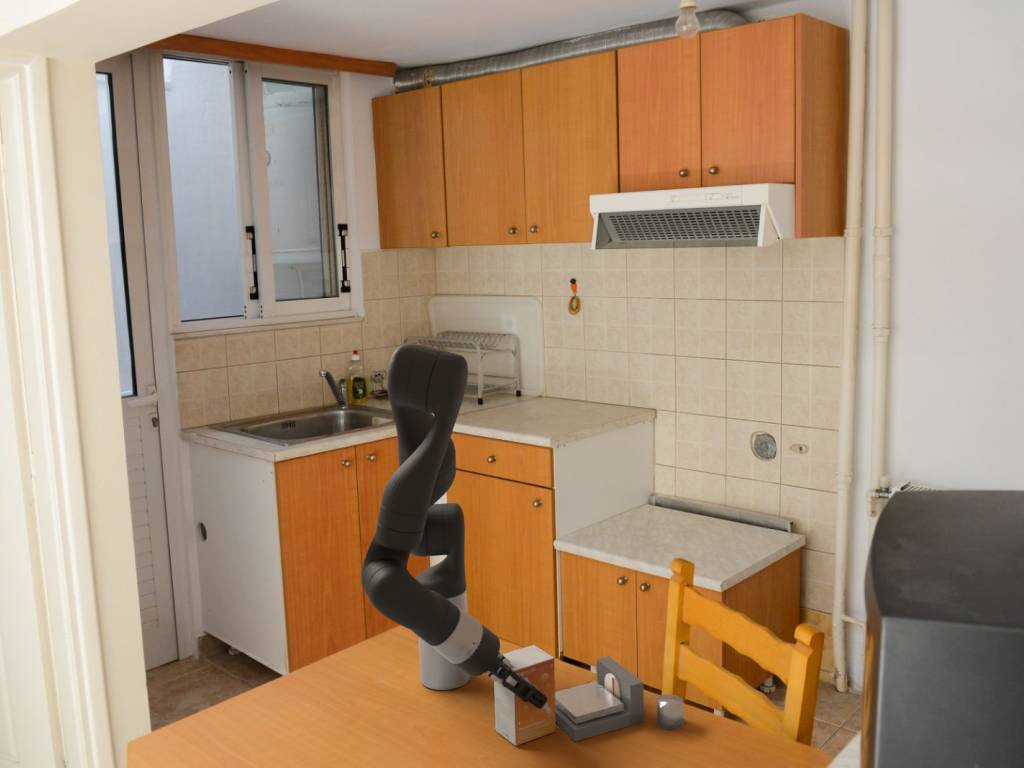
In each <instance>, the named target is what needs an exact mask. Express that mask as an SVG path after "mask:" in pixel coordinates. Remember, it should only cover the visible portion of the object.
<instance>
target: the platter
mask: <svg viewBox="0 0 1024 768" xmlns="http://www.w3.org/2000/svg"><path fill="white" fill-rule="evenodd" d="M555 705H556V706H557V707H558V708H559V709H560V710H562V711H563V712H564V713H565V714H566V715H567V716H568V717H569V718H570V719H571V720H572V721H573V722H574V723H575V724H577V723H581V722H584V721H588V720H592V719H595V718H599V717H602V716H606V715H609V714H613V713H616V712H620V711H623V710H624V703H622V702H621V701H620V700H619V699H617V698H616V697H615V696H614V695H613V694H611V693H610V692H609V691H608V690H606V689H605V688H604V687H603V686H602V685H600V684H599V683H598V682H597V680H595V681H591V682H587V683H584V684H580V685H576V686H572V687H569V688H565V689H562V690H558V691H555Z"/></svg>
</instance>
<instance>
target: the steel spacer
mask: <svg viewBox="0 0 1024 768" xmlns="http://www.w3.org/2000/svg"><path fill="white" fill-rule="evenodd" d="M684 708H685V705H684V699H683V698H682V697H680V696H678V695H675V694H661V695H659V696H658V697H657V698H656V725H657V726H658V728H660V729H661V730H665V731H678V730H680V729H682V728H683V727H684V726H685V723H684V722H685V719H684V717H685V716H684V715H685V712H684V711H685V709H684Z"/></svg>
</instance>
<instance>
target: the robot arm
mask: <svg viewBox="0 0 1024 768" xmlns="http://www.w3.org/2000/svg"><path fill="white" fill-rule="evenodd" d="M468 375H469V367H468V362H467V359H466V358H465V357H464V356H463V355H461V354H458V353H455V352H450V351H447V350H442V349H437V348H432V347H429V346H425V345H421V344H418V343H417V344H415V343H405V344H402V345H399V346H398V347H397V348H396V349H395V350H394V351H393V353H392V355H391V357H390V360H389V363H388V369H387V378H386V380H387V381H386V382H387V393H388V399H389V403H390V408H391V411H392V415H393V420H394V423H395V429H396V435H397V449H398V451H397V452H398V466H399V467H398V468H397V469H396V471H394V473H393V474H392V475H391V477H389V480H388V481H387V483H386V486H385V487H384V490H383V494H382V497H381V501H380V508H379V512H378V515H377V516H378V518H377V521H376V527H375V532H374V534H373V537H372V538H371V541H370V543H369V546H368V549H367V550H366V551H367V552H366V554H365V556H364V560H363V563H362V567H361V568H362V569H361V574H360V576H361V577H360V579H361V581H360V582H361V586H362V589H363V590H364V592H365V594H366V596H367V597H368V599H369V601H370V603H371V604H372V606H373V608H375V609H376V610H377V611H378V612H379V613H381V615H383V616H384V617H386V618H387V619H389V620H390V621H392V622H394V623H396V624H398V625H399V626H401V627H404V628H405V629H409V630H411V632H412V633H414V634H415V635H416V636H417V637H418V639H417V640H418V656H419V673H420V674H419V675H420V683H421V684H422V686H424V687H426V688H428V689H432V690H437V691H448V690H453V689H457V688H460V687H463V686H465V685H466V684H468V682H470V680H471V677H473V678H474V677H475V678H476V677H480V676H482V675H483V674H487V677H489V678H490V679H491V680H492V681H493V682H494V681H495V682H498V683H500V684H501V685H502V686H503V687H504V688H506V689H507V690H508V691H510V692H513V693H515V694H516V695H517V696H519V697H520V698H521V699H522V700H523V701H524V702H528V701H529V702H530V703H532V704H533V705H534V706H536V707H537V708H538V709H541V708H542V707H543V706H544V704H545V703H546V702H547V697H546V696H545V695H544V694H542V693H541V692H540V691H538V690H537V689H536V688H535V687H534V686H533V684H532V683H529V682H528V681H526V680H525V679H524V678H523V674H521V676H518V675H517V674H516V673H515V672H514V671H512V670H511V669H510V668H515V667H514V666H513V665H512V664H511V662H510V660H508V659H507V658H506V657H505V656H504V655H503V654H504V653H502V652H501V651H500V650H501V642H500V639H499V638H500V637H498V635H497V634H495V633H494V631H492V630H490V629H489V628H488V627H486V626H485V625H484V624H483V623H481V622H480V621H479V620H477V618H475V617H473V616H472V615H471V614H470V613H468V597H467V579H466V565H465V564H466V563H465V553H466V552H465V551H466V550H465V549H466V548H465V547H466V546H465V542H466V540H465V539H466V538H465V536H466V530H465V529H466V526H465V525H466V524H465V523H466V522H465V515H464V511H463V509H462V506H461V505H460V504H458V503H455V502H447V503H437V502H438V501H439V500H441V498H442V497H443V496H444V495H445V494H446V493H447V492H448V491H449V489H450V488H451V486H452V485H453V483H454V481H455V478H456V476H457V475H456V474H457V459H456V458H457V454H456V452H457V451H456V447H455V443H454V441H453V438H452V434H453V431H454V428H455V424H456V422H457V419H458V417H459V412H460V409H461V407H462V403H463V399H464V396H465V393H466V389H467V384H468V377H469V376H468ZM411 555H412V556H415V557H438V556H446V557H444V559H443V560H441V561H440V562H438V563H437V564H435V565H433V566H430V567H428V568H426V569H424V570H422V571H421V572H419V573H418V574H417V575H416V576H415V577H414V576H413V575H412V574H411V573H410V571H409V569H408V564H409V563H408V562H409V559H410V556H411ZM508 666H509V667H510V668H509V667H508Z"/></svg>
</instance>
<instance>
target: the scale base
mask: <svg viewBox="0 0 1024 768" xmlns="http://www.w3.org/2000/svg"><path fill="white" fill-rule="evenodd" d="M596 681H597V682H598V683H599V684H600V685H602V686H603V687H604V688H605V689H606V690H608V691H609V692H610V693H611V694H613V695H614V696H615V697H616V698H617V699H619V700H620V701H621V702H622V703H624V710H623V711H620V712H616V713H613V714H609V715H606V716H602V717H599V718H595V719H592V720H588V721H584V722H581V723H577V724H575V723H574V722H573V721H572V720H571V719H570V718H569V717H568V716H567V715H566V714H565V713H564V712H563V711H562V710H560V709H559V708H558V707H557V706H556V705H555V722H556V723H557V724H558V725H559V726H560V727H561V729H562V730H563V732H565V734H566V735H568V737H569V738H571V739H572V741H574V740H575V741H576V742H578V740H580V741H582V740H581V739H583V740H586V739H585V738H587V739H589V738H588V737H590V738H592V736H593V737H596V735H597V736H599V734H600V735H603V734H602V733H604V734H606V732H607V733H610V732H613V731H612V730H614V731H616V729H617V730H620V729H619V728H621V729H624V728H627V727H631V726H634V725H637V724H636V723H638V724H640V723H644V722H645V710H644V709H645V706H644V705H645V702H644V701H645V700H644V695H645V694H644V681H643V680H642V679H640V678H639V677H637V676H636V675H635V674H634V673H632V672H630V671H629V670H628V669H626V668H625V667H624V666H623V665H621V664H620V663H618V661H616V660H615V659H613V658H612V657H611V656H605V657H600V658H598V659H596ZM556 723H555V724H556ZM557 724H556V725H557ZM633 724H634V725H633ZM558 725H557V726H558ZM630 725H631V726H630ZM559 726H558V727H559ZM609 731H610V732H609ZM575 741H574V742H575Z"/></svg>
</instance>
